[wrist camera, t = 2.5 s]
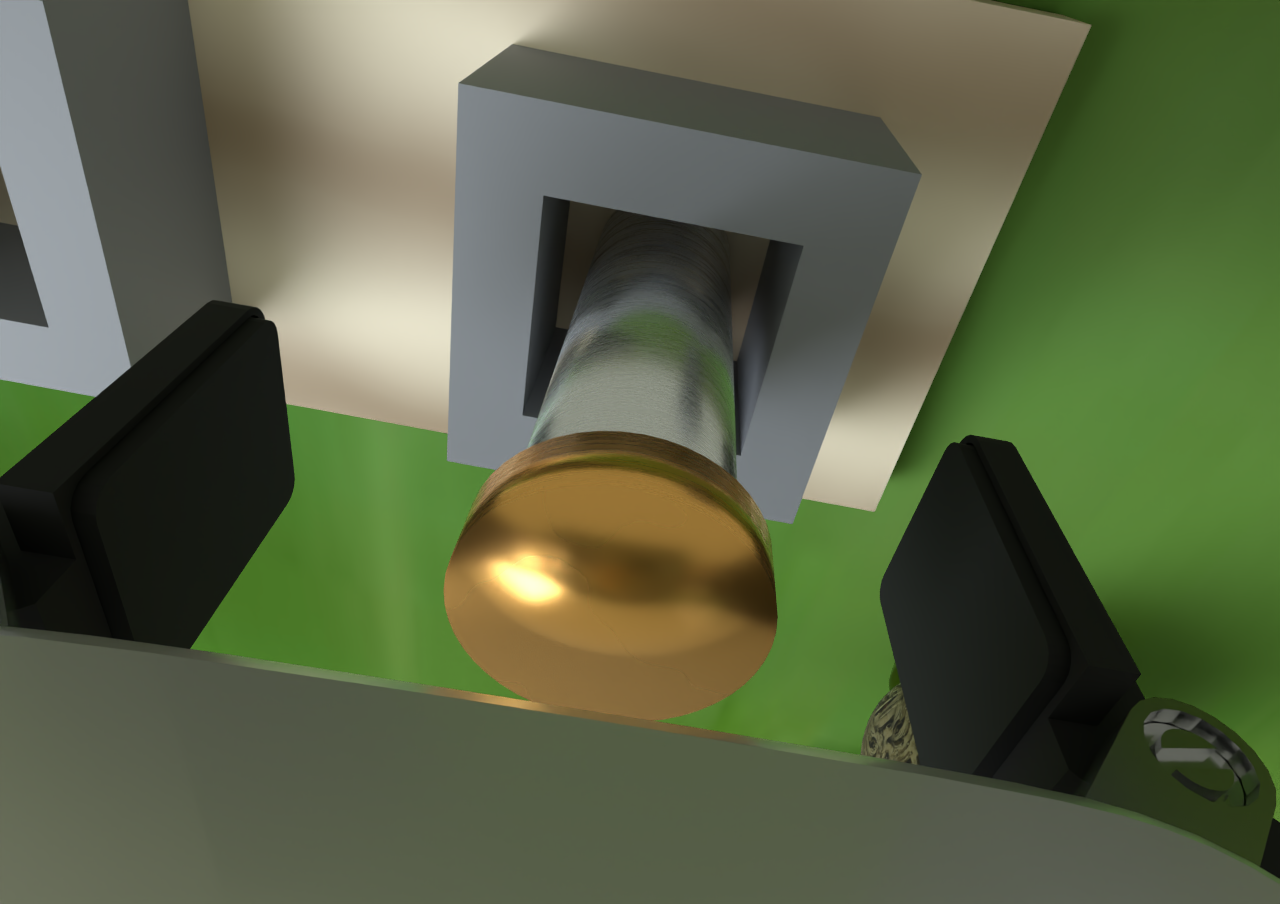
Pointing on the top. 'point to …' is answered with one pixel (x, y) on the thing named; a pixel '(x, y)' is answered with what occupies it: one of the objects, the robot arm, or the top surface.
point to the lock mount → (675, 190)
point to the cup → (890, 727)
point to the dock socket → (101, 188)
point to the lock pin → (626, 501)
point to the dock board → (425, 202)
